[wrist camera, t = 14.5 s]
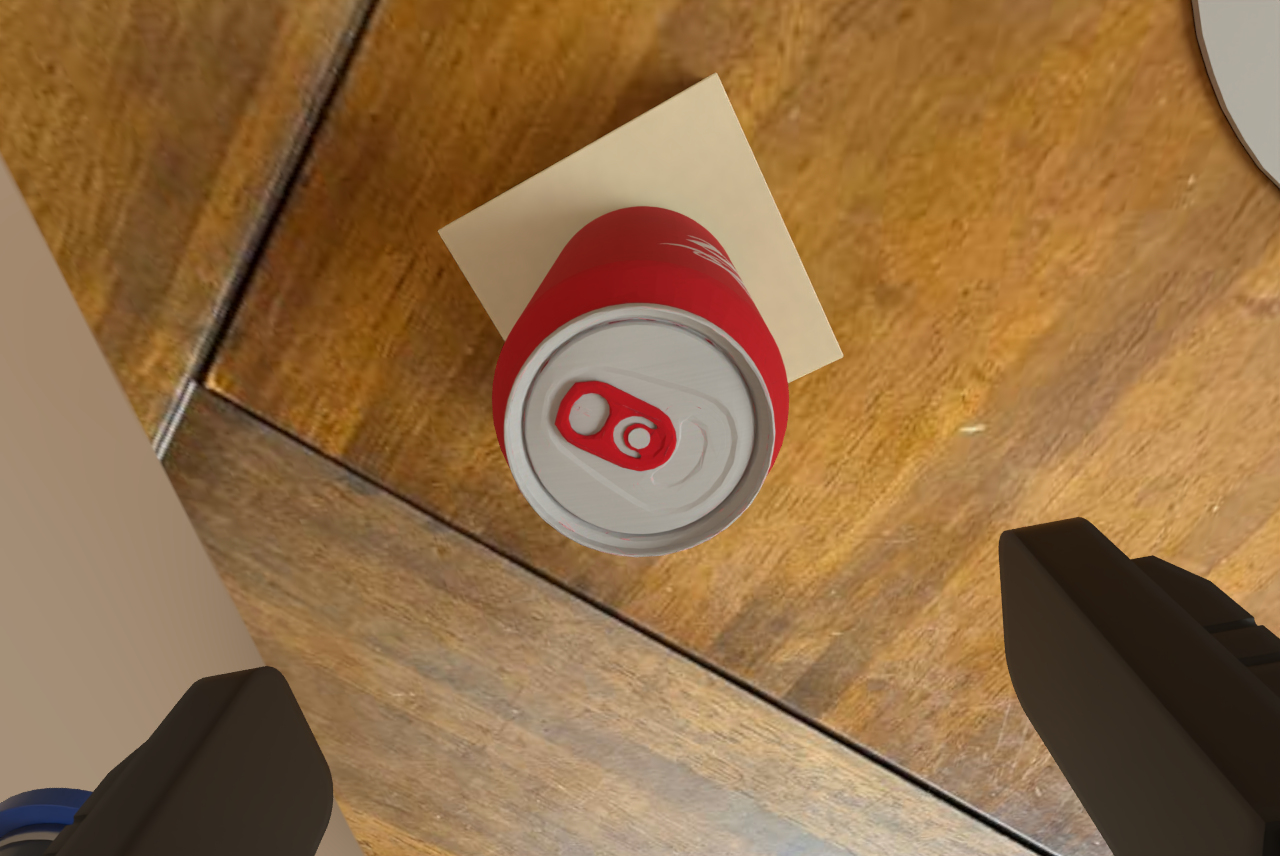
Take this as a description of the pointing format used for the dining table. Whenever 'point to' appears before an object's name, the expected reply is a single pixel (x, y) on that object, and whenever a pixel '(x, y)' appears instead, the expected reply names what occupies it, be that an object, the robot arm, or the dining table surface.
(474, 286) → the block
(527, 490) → the beverage can
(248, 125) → the dining table surface
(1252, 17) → the plate
